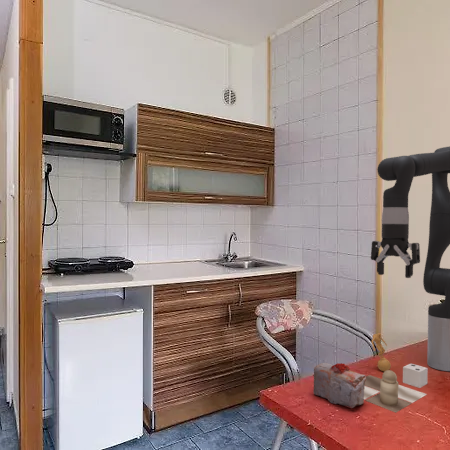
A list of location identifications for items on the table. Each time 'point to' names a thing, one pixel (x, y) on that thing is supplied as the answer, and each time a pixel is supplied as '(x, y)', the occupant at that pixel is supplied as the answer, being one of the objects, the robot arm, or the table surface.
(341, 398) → the food item
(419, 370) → the die
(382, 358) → the figurine
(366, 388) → the game mat
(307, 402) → the table surface
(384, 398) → the pawn
